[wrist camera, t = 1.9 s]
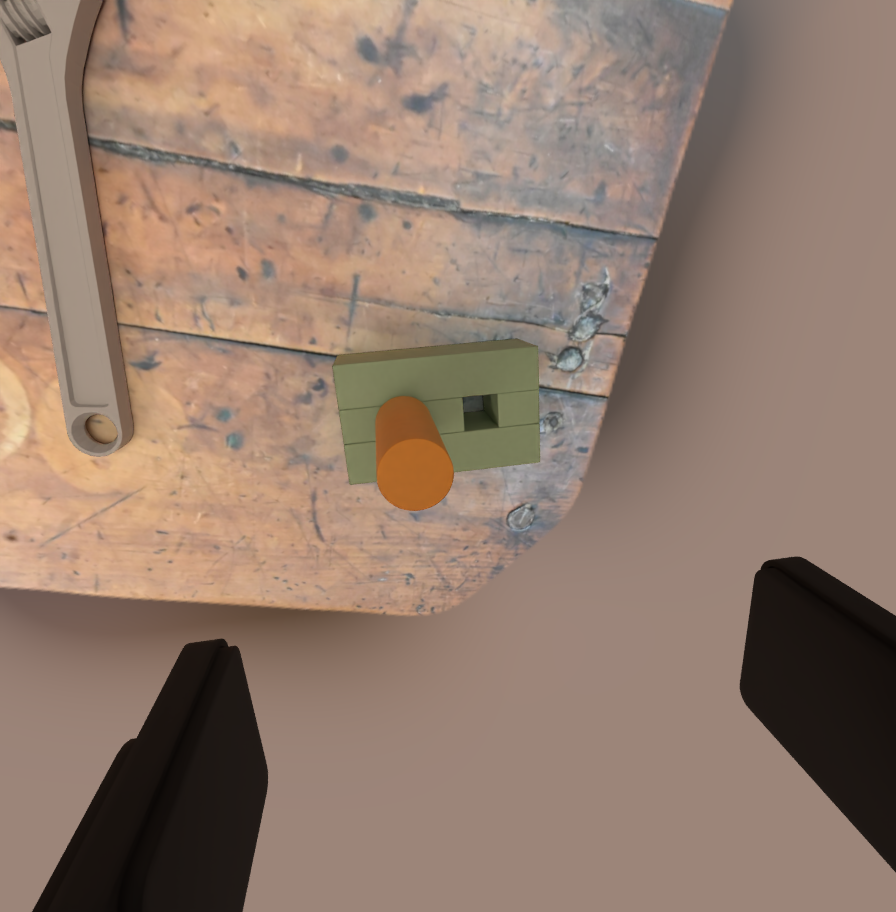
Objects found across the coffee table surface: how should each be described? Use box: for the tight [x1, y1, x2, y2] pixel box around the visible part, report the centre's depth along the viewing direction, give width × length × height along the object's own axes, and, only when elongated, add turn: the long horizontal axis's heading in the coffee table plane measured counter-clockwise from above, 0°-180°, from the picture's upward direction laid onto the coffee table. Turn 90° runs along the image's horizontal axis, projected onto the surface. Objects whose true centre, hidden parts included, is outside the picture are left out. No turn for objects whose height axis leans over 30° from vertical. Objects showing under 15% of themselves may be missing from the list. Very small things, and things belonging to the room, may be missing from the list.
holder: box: [332, 339, 540, 485], centre depth 28 cm, size 6×10×4 cm, turn 94°
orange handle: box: [375, 396, 454, 511], centre depth 24 cm, size 3×3×12 cm
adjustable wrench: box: [0, 0, 133, 457], centre depth 24 cm, size 25×6×2 cm, turn 172°
